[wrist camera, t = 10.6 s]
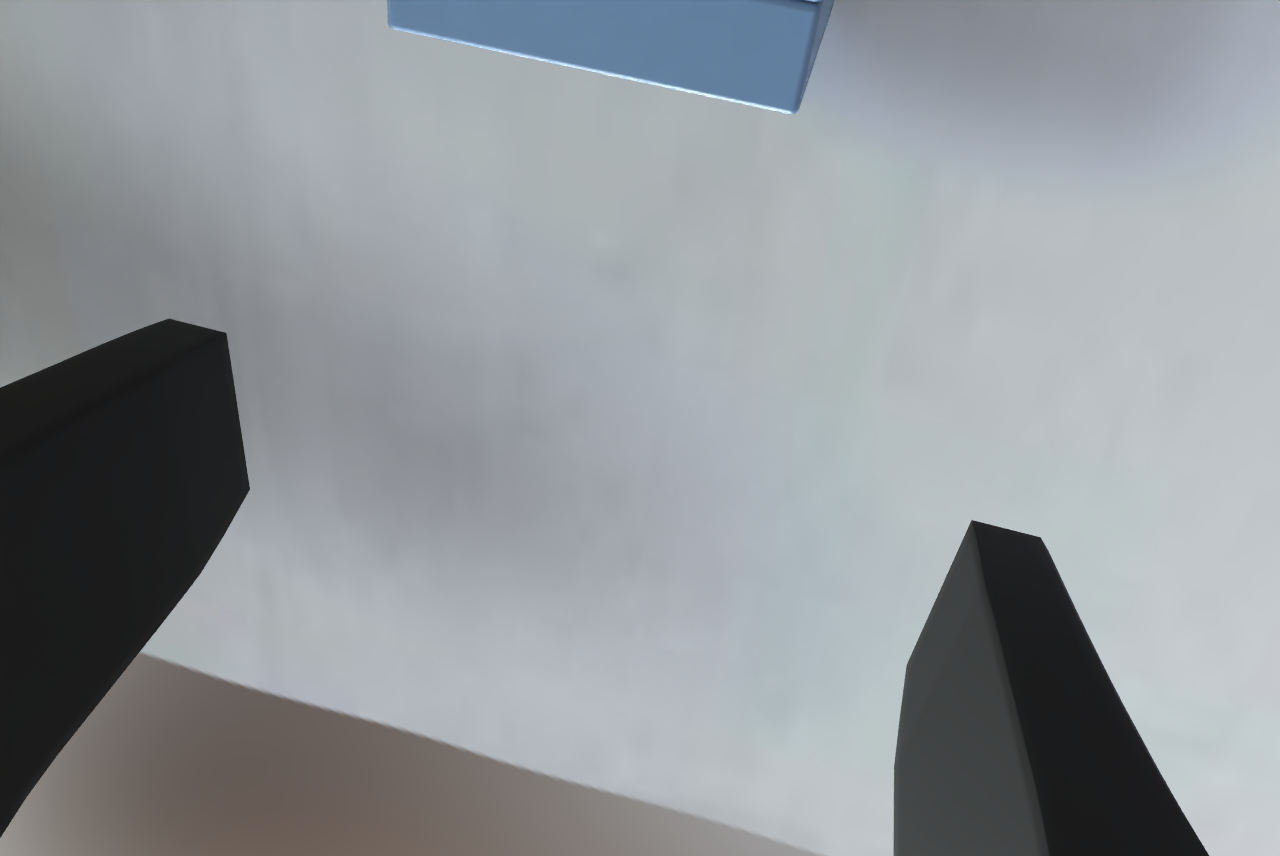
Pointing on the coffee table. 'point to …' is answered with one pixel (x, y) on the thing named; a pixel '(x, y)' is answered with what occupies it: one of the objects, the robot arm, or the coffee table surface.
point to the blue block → (646, 40)
